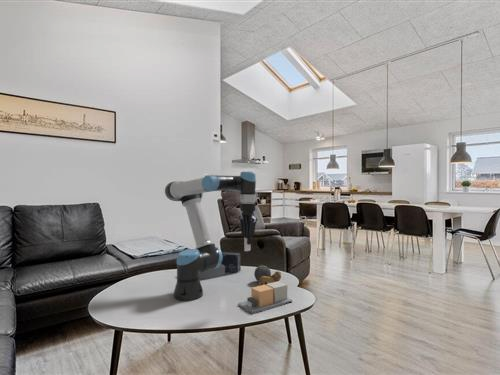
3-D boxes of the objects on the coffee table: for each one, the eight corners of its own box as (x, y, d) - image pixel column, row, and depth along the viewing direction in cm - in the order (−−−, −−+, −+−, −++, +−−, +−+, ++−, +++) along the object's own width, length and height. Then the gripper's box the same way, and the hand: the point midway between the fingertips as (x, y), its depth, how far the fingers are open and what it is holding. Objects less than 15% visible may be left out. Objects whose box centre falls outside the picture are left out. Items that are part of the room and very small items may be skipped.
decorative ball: (256, 285, 170) (256, 268, 170) (252, 280, 180) (252, 264, 180) (273, 284, 173) (273, 267, 173) (268, 279, 182) (268, 262, 182)
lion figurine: (280, 285, 170) (279, 269, 170) (282, 288, 165) (282, 272, 165) (255, 287, 168) (255, 271, 168) (257, 290, 162) (257, 274, 162)
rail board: (238, 305, 142) (238, 288, 142) (276, 294, 155) (276, 279, 155) (252, 313, 132) (252, 296, 132) (292, 302, 145) (292, 285, 145)
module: (251, 302, 143) (251, 287, 143) (264, 298, 148) (264, 284, 148) (259, 306, 137) (259, 291, 137) (273, 303, 142) (273, 288, 142)
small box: (241, 270, 202) (240, 252, 202) (237, 273, 196) (237, 255, 195) (223, 268, 206) (223, 251, 206) (219, 271, 199) (219, 254, 199)
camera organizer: (183, 275, 191) (183, 266, 191) (213, 269, 204) (213, 261, 204) (193, 281, 178) (193, 271, 178) (225, 275, 190) (224, 266, 190)
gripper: (234, 202, 148) (234, 249, 148) (249, 204, 137) (248, 254, 138) (246, 201, 152) (246, 247, 153) (261, 203, 141) (261, 252, 142)
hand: (247, 250), depth 145 cm, fingers closed
